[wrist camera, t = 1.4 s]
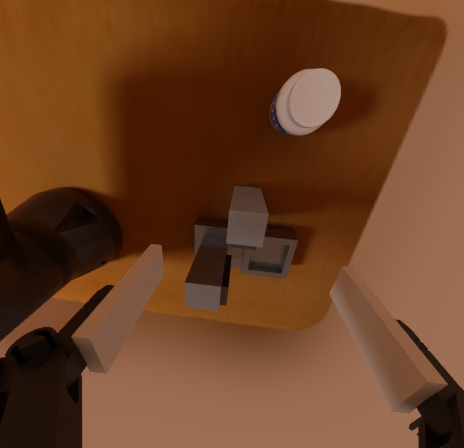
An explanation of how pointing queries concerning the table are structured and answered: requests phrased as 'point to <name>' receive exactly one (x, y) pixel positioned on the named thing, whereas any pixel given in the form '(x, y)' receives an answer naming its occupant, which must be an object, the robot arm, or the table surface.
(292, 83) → the pill bottle
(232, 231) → the long gray rectangular block
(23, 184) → the table surface
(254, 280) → the table surface
